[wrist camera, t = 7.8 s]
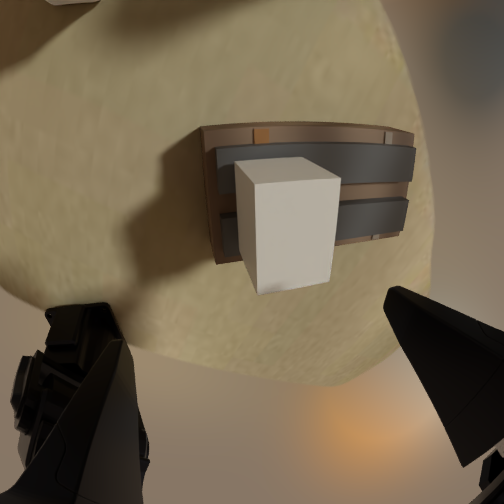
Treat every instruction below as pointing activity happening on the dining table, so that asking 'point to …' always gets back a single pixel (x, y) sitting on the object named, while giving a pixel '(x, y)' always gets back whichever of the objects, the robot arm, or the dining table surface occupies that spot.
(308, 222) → the block
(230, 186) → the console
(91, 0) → the pepper shaker
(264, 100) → the dining table surface
